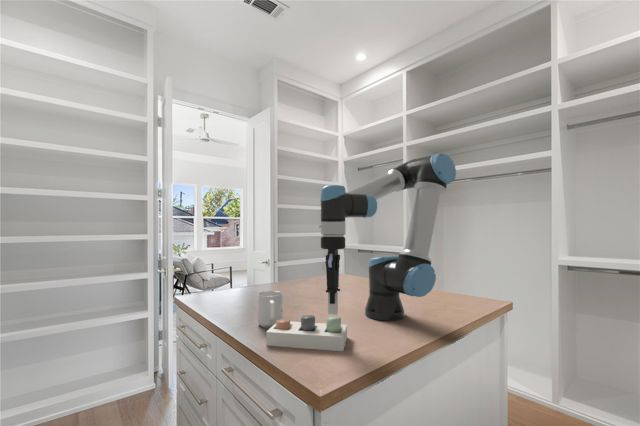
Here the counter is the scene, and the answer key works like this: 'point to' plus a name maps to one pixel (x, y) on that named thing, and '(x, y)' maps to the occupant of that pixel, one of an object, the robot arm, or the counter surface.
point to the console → (307, 337)
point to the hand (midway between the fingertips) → (332, 313)
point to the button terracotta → (283, 324)
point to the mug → (270, 308)
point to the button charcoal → (308, 323)
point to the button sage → (333, 324)
